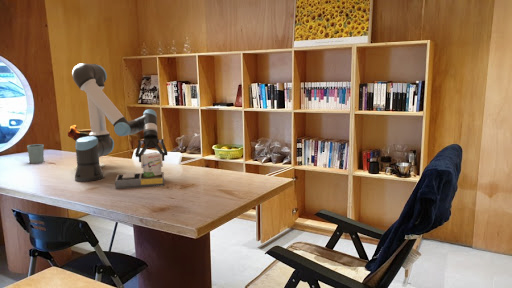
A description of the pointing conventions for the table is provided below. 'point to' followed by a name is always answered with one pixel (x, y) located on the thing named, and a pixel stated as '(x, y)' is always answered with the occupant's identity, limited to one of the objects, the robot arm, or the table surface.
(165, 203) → the table surface
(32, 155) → the grey green cup
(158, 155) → the ink box
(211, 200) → the table surface
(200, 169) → the table surface
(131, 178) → the grey compartment tray
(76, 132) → the decorative vase
